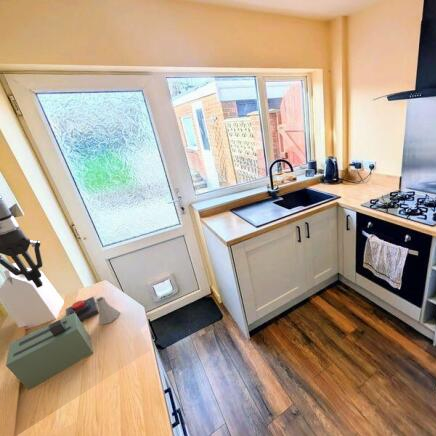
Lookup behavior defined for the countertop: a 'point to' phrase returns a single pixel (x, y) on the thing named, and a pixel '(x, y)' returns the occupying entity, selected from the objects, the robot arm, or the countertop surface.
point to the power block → (85, 310)
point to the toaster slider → (57, 328)
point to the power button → (78, 305)
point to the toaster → (48, 352)
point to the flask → (106, 311)
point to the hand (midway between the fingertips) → (39, 285)
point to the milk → (30, 299)
